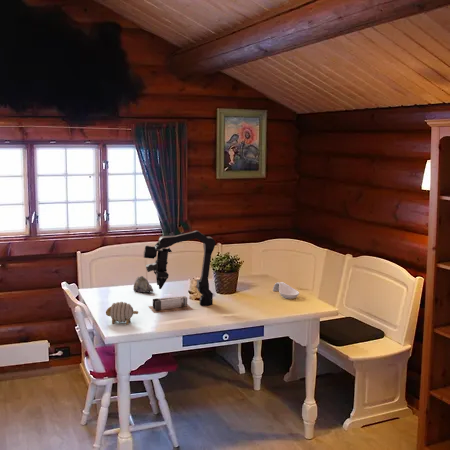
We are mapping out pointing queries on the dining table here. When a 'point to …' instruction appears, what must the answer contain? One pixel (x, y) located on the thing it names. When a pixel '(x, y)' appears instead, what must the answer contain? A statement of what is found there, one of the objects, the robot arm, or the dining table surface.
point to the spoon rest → (285, 290)
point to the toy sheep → (120, 312)
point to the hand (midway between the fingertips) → (159, 286)
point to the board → (171, 309)
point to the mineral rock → (142, 285)
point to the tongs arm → (169, 303)
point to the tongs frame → (170, 298)
